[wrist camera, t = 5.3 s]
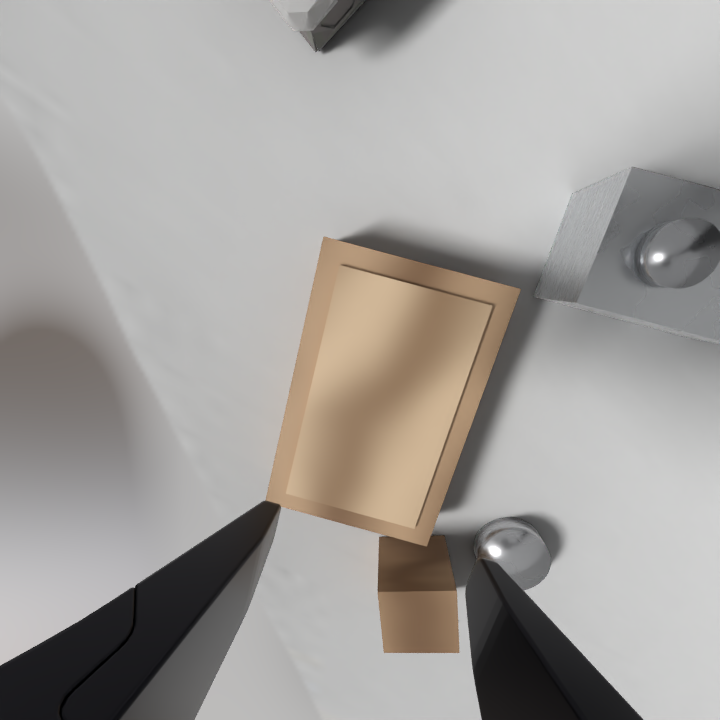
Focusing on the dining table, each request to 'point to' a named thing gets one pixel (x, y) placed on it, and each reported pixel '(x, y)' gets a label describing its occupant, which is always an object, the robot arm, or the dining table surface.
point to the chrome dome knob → (514, 550)
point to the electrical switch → (316, 17)
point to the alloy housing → (640, 254)
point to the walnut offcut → (417, 597)
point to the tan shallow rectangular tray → (385, 389)
